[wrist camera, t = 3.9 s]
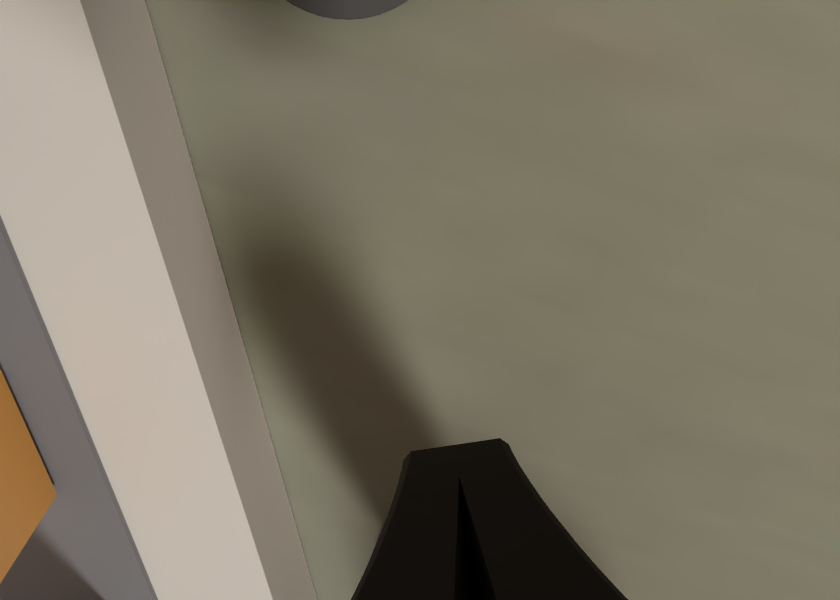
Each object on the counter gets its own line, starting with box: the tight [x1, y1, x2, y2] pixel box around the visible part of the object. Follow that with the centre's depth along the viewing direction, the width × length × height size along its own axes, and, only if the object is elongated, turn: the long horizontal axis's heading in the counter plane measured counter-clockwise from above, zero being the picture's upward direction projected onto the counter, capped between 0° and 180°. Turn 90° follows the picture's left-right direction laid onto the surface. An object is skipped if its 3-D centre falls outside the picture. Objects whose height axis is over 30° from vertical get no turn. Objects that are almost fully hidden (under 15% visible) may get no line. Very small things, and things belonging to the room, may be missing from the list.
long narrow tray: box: [0, 0, 317, 600], centre depth 15 cm, size 8×24×4 cm, turn 9°
